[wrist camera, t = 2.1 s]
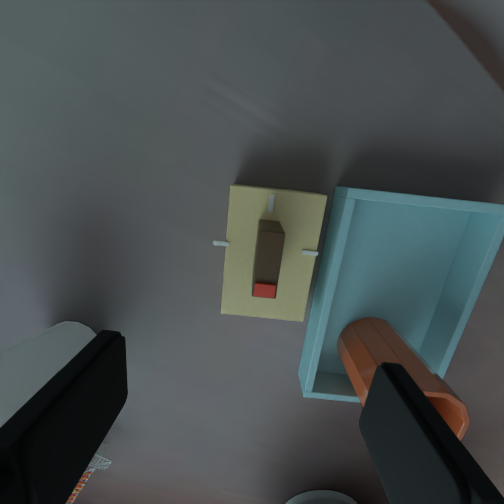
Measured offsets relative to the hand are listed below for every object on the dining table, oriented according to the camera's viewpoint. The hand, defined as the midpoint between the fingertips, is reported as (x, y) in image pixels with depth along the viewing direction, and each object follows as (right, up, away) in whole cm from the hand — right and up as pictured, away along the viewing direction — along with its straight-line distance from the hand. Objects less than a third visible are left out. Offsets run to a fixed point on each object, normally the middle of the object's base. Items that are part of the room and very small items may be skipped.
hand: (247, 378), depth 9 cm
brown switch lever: (+1, +5, +12) cm, 13 cm away
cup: (+13, -5, +18) cm, 23 cm away
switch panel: (+2, +5, +15) cm, 16 cm away
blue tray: (+14, 0, +17) cm, 22 cm away
